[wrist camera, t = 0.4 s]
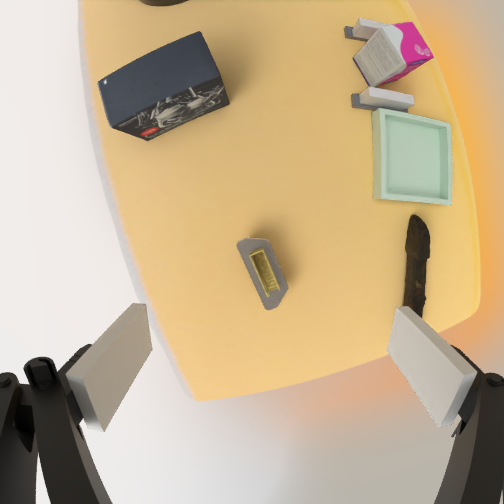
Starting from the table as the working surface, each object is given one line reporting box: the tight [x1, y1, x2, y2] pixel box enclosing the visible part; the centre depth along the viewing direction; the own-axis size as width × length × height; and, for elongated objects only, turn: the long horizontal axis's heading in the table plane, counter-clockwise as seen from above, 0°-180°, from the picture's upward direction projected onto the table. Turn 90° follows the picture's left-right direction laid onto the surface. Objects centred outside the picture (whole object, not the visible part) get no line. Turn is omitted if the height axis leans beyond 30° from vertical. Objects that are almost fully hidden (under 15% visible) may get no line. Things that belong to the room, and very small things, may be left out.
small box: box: [98, 31, 229, 141], centre depth 31 cm, size 13×7×12 cm, turn 112°
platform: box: [237, 238, 288, 310], centre depth 38 cm, size 12×18×7 cm, turn 23°
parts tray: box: [372, 108, 452, 205], centre depth 36 cm, size 13×13×3 cm
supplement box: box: [353, 22, 434, 87], centre depth 29 cm, size 6×6×12 cm
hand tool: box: [403, 215, 430, 318], centre depth 39 cm, size 19×4×5 cm, turn 4°
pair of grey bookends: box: [344, 18, 414, 113], centre depth 32 cm, size 14×9×5 cm, turn 0°
